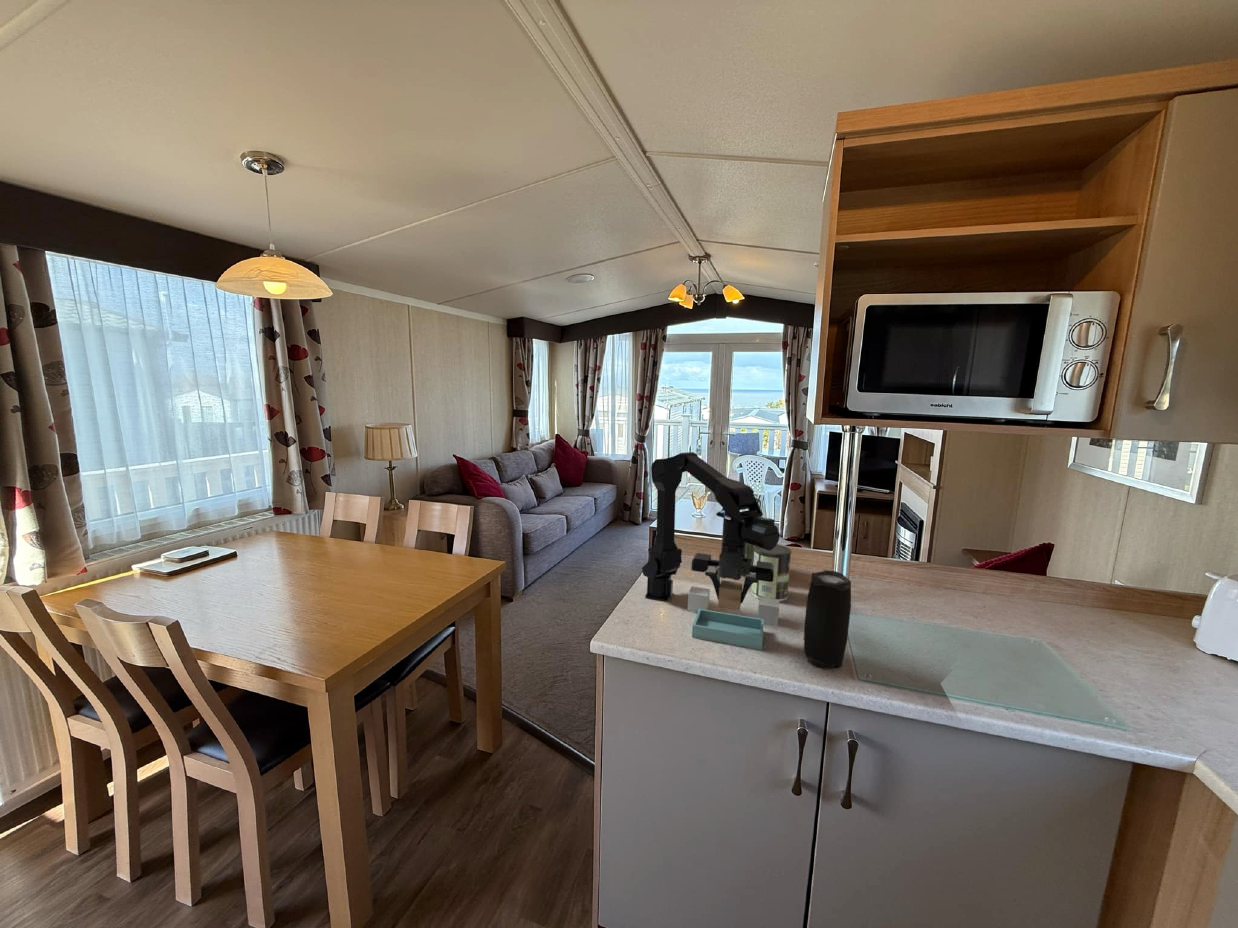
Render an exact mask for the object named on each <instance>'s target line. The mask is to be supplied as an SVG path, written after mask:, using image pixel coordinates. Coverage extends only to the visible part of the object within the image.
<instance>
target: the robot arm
mask: <svg viewBox="0 0 1238 928" xmlns="http://www.w3.org/2000/svg"><path fill="white" fill-rule="evenodd" d="M650 468H651V469H650V472H651V481H652V483H653V485H654V487H655V489H656V492H657V493H656V494H657V499H656V501H657V503H656V540H655V543H654V544H653V547H652V548H651V550H650V555H649V560H648V562H646V564H644V565H643V566H642V568H641V570H642V574H643V576H644V577H646V578H647V583H646V584H647V585H646V594H645V595H644V598H646V599H650V600H656V601H657V600H658V601H662V602H663V601H664V602H667V601H669V600H670V598H671V597H672V595H673V589H674V580H673V579H672V576H675V575H677V572H678V569H679V568H680V567H681V563H683V560H682V555H683V554H682V553H683V551H682V548H679V547H678V546H677V544H676V542H675V534H676V533H675V532H676V531H675V530H676V529H675V528H676V491H677V489H678V487H679V485H680V484H681V482H682V479H683V478H682V477H683V473H685V472H686V473H688V474H689V475H691V476H692V477H693V478H694V479H696V480H697V481H699V483H701V484H702V485H704V486H705V487H706V488H707V489H709V491H711V492H712V493H713V495H714V498H715V501H716V502H717V503H718V505H720V506H721V508H722V509H721V510H719V511H718V512H716V513H715V515H716V516H717V517H720V518H723V519H722V535H721V536H722V537H721V548H720V549H721V551H720V554H719V558H718V559H719V560H717V559H712V554H707V553H702V552H701V553H699V552H697V553H696V554H695V555H694V556H693V558H692V560H691V569H690V570H691V571H692V572H698V573H699V572H700V573H704V574H705V576H707V577H709V578H710V580H711V582H712V585H713V587H714V591H715V595H716V598H717V600H719V587H720V584H721V578H722V579H731V580H734V581H739V580H741V578H742V576H745V577H744V582H743V584H742V594H741V604H743V603H744V600H745V598H746V595H747V594H748V591H749V589H750V588H751V587H752V584H753V583H758V580H760V581H767V582H773V576H774V565H773V564H772V563H769V562H761V561H757V565H751V559H748V558H746V546H747V543H748V544H751V545H754V546H756V547H759V548H762V549H765V550H769V551H770V550H772V549H774V548H775V546H776V545H777V544H778V543H779V540H780V536H781V535H780V532H779V528H778V526H776V525H775V519H772V518H769V517H764V513H763V512H762V510H761V507H759V506H760V504H759V502H758V501H756V499H757V498H756V496H755V493H754V489H753V488H752V487H751V486H749V485H748V484H745V483H743V482H742V481H738V480H735V479H731V478H729V477H727V476H725V475H724V474H722V473H721V472H720V471H718V470H717V469H715V467H713V466H711V465H710V464H709V463H707V462H706V461H704V459H702V458H701V457H699V455H698V454H697V453H696V452H693V451H687V452H680V453H678V454H676V455H674V456H670V457H667V458H657V459H655V460H654V461H653V462H652V463H651V466H650ZM748 509H749V510H748Z"/></svg>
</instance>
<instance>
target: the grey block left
mask: <svg viewBox="0 0 1238 928" xmlns="http://www.w3.org/2000/svg"><path fill="white" fill-rule="evenodd" d="M710 592H711V589H710V588H704V587H698V586H691V587H690V589H689V591H688V593H687V594H688V595H687V596H688V597H687V598H688V599H687V611H688V612H692V613H693V612H694V613H697V612H698V610H699V609H704V610H709V608H710V595H711V593H710Z"/></svg>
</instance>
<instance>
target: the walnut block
mask: <svg viewBox="0 0 1238 928" xmlns="http://www.w3.org/2000/svg"><path fill="white" fill-rule="evenodd" d="M743 585H744V582H737V581H731V580H723V579H721V580H720V587H719V600H718V599H717V600H718V602H717V603H718V604H717V608H719V609H725V610H731V611H737V612H740V611H741V605H742V603H741V594H742V590H743Z"/></svg>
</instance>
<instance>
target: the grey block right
mask: <svg viewBox="0 0 1238 928" xmlns="http://www.w3.org/2000/svg"><path fill="white" fill-rule="evenodd" d="M757 607H758V609H757V618H758V619H764V624H765V625H770V626H775V627H778V626H779V614H780V602H779V600H778V599H771V598H765V597H759V599H758V606H757ZM764 624H763V625H764Z"/></svg>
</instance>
